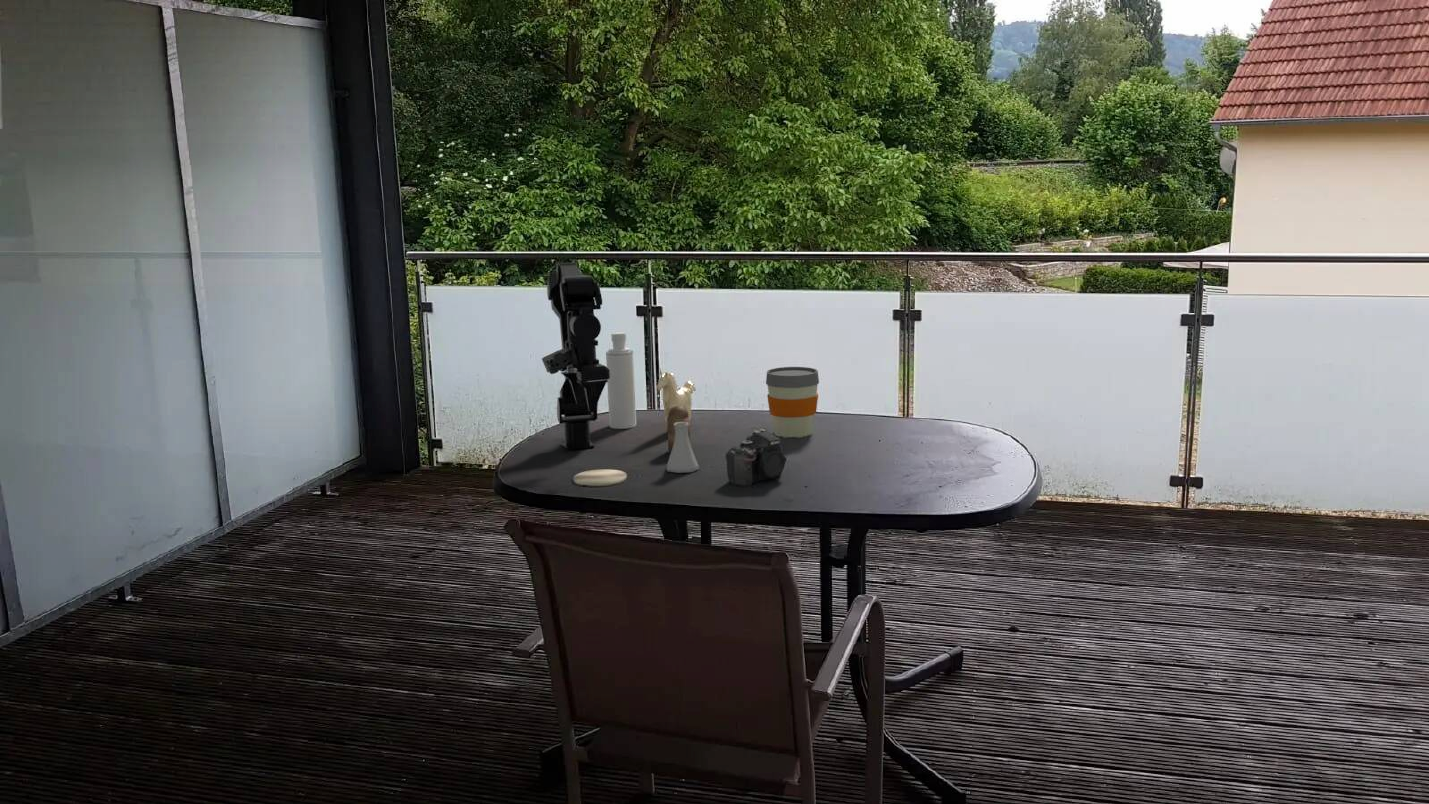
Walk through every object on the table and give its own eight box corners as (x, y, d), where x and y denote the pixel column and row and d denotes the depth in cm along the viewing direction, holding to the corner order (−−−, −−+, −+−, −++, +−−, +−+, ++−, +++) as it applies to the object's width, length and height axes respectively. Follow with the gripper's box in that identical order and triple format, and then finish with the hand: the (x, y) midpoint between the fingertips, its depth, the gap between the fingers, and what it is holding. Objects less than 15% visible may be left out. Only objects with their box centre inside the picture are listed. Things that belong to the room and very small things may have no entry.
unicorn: (688, 421, 289) (685, 354, 285) (702, 422, 287) (700, 354, 284) (652, 439, 271) (649, 368, 267) (667, 440, 269) (664, 368, 266)
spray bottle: (635, 428, 282) (630, 328, 277) (608, 429, 282) (603, 328, 277) (637, 422, 289) (633, 324, 284) (610, 423, 289) (606, 325, 284)
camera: (764, 490, 226) (763, 441, 224) (721, 484, 231) (720, 436, 229) (796, 474, 237) (795, 427, 235) (755, 468, 242) (754, 422, 240)
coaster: (568, 475, 241) (568, 472, 241) (619, 469, 244) (619, 467, 244) (580, 488, 231) (580, 486, 231) (632, 482, 234) (632, 479, 234)
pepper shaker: (665, 450, 260) (663, 405, 258) (686, 447, 262) (685, 403, 259) (672, 455, 255) (670, 409, 253) (693, 452, 257) (691, 407, 255)
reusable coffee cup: (828, 430, 274) (828, 368, 271) (804, 441, 264) (803, 377, 261) (783, 425, 281) (781, 365, 278) (757, 436, 271) (755, 373, 268)
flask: (695, 474, 239) (694, 427, 237) (662, 473, 241) (660, 427, 238) (703, 465, 246) (701, 420, 244) (670, 464, 247) (668, 419, 245)
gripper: (533, 334, 248) (538, 404, 251) (556, 343, 232) (560, 419, 234) (582, 330, 253) (586, 399, 256) (608, 339, 236) (612, 413, 239)
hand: (585, 407), depth 246 cm, fingers open, 9 cm apart
